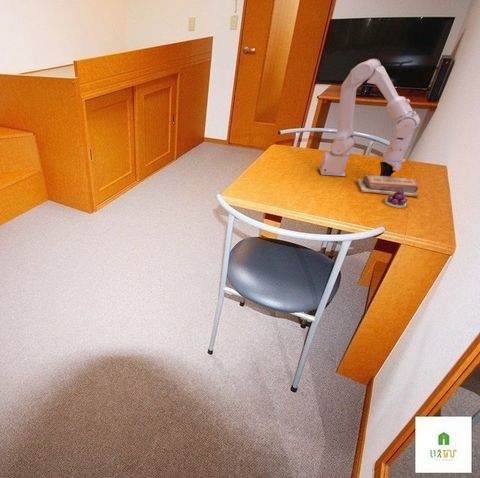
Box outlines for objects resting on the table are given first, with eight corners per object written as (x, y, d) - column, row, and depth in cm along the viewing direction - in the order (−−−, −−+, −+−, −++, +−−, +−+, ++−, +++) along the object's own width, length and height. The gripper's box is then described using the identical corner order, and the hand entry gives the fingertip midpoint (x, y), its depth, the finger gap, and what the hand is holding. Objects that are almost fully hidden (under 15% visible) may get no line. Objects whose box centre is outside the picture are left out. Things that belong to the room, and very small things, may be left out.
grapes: (387, 206, 117) (395, 190, 113) (382, 198, 121) (389, 182, 118) (408, 208, 115) (417, 192, 111) (402, 200, 119) (410, 184, 116)
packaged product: (414, 175, 125) (423, 186, 118) (408, 186, 128) (417, 197, 120) (360, 171, 131) (365, 181, 123) (356, 182, 134) (361, 192, 126)
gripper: (417, 155, 116) (400, 189, 124) (403, 142, 127) (389, 173, 135) (393, 154, 118) (378, 187, 126) (382, 141, 129) (369, 172, 137)
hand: (382, 180), depth 131 cm, fingers closed
